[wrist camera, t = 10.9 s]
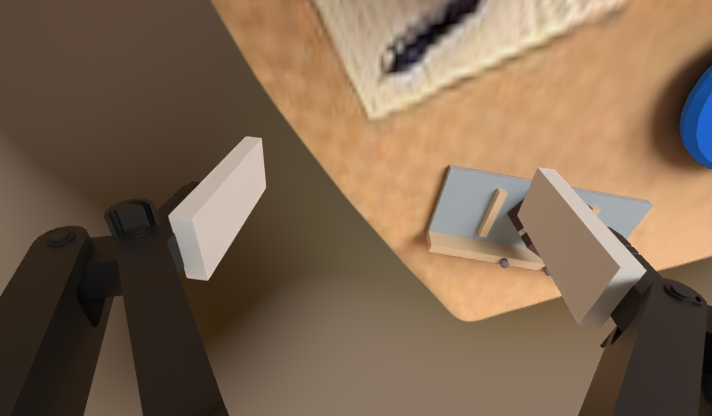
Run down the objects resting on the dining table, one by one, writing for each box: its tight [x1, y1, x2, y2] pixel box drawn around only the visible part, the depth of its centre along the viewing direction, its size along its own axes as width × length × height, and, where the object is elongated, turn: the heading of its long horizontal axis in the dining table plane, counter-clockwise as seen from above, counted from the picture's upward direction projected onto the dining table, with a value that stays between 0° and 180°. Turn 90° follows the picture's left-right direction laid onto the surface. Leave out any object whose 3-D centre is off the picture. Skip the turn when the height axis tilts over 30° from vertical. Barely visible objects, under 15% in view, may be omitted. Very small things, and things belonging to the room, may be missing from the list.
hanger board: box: [426, 165, 653, 275], centre depth 42 cm, size 11×26×5 cm, turn 81°
